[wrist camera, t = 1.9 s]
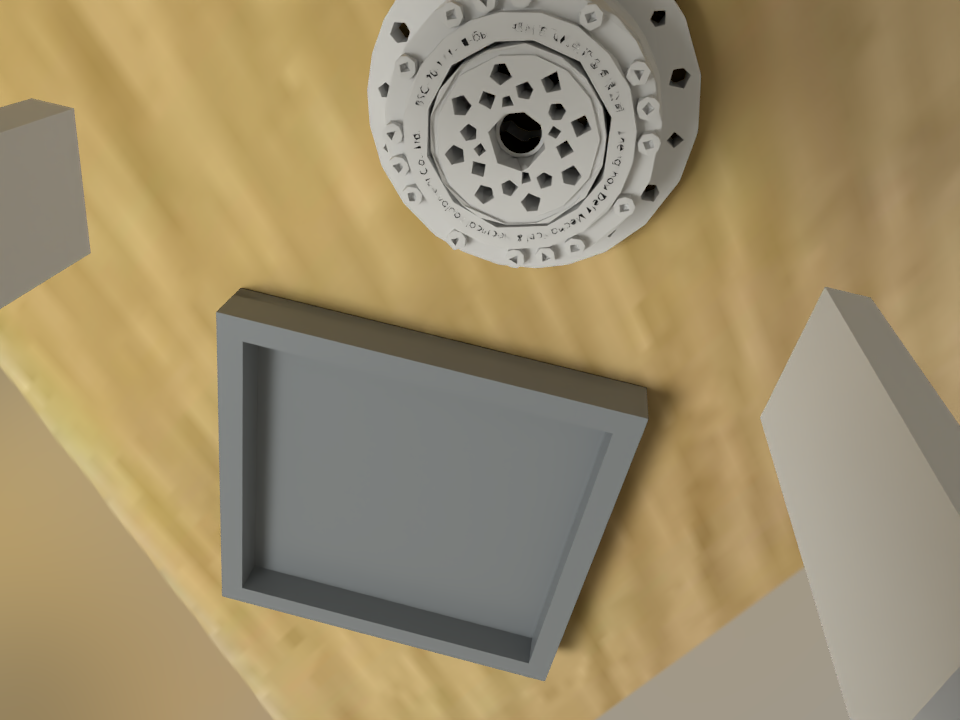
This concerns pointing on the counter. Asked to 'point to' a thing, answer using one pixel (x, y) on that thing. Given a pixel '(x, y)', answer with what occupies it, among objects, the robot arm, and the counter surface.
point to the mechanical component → (550, 166)
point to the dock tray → (412, 480)
